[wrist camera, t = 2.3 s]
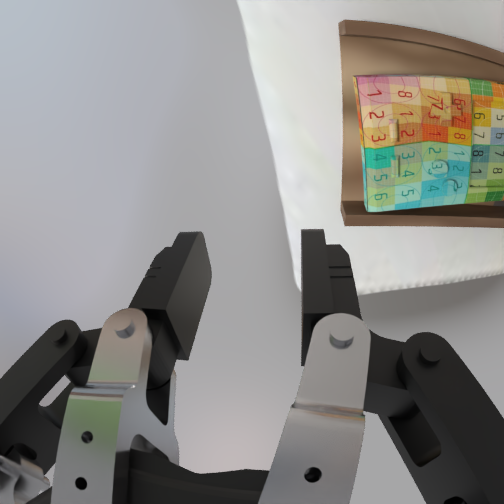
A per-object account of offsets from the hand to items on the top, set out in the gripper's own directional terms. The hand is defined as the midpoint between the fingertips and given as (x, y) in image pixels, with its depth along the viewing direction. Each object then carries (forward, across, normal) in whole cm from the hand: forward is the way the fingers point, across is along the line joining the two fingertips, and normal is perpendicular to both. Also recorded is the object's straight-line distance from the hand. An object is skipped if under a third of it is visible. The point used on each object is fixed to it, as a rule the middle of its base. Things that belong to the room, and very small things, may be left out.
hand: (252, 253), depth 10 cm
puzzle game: (+19, -17, 0) cm, 26 cm away
